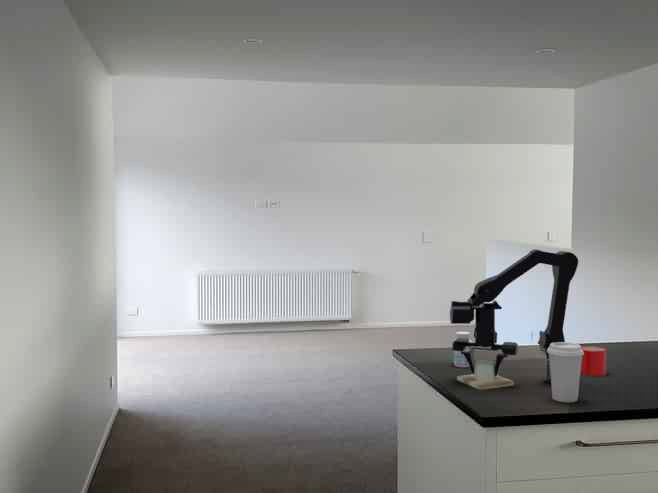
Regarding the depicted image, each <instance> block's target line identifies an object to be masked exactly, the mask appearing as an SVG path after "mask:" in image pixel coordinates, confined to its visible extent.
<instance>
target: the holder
mask: <svg viewBox="0 0 658 493" xmlns="http://www.w3.org/2000/svg"><path fill="white" fill-rule="evenodd" d="M456 380H457V381H458V382H461V383H463V384H465V385H467V386H470V387H472V388H474V389H478V390H479V391H482V390H488V389H497V388H503V387H504V388H505V387H511V386H512V387H513V386H514V385H515V381H514V380H511V379H509V378H506V377H503V376H501V375H499V374H498V375H497V376H496V380H494V381H479V380H476V379H475V378H474V374H473V373H471V374H466V375H465V374H463V375H457V376H456Z"/></svg>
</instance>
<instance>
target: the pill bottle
mask: <svg viewBox="0 0 658 493" xmlns="http://www.w3.org/2000/svg"><path fill="white" fill-rule="evenodd" d="M470 338H471V333H470V332H469V331H456V332H455V339H454V341H455V340H457V339H468V340H469V342H472V343H473V341H472V340H471V339H470ZM454 341H453V342H454ZM453 365H454V366H455V367H458V368H470V366H469V363H468V361H467V359H466V358H465V356H464V354H461V351H453Z"/></svg>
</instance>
